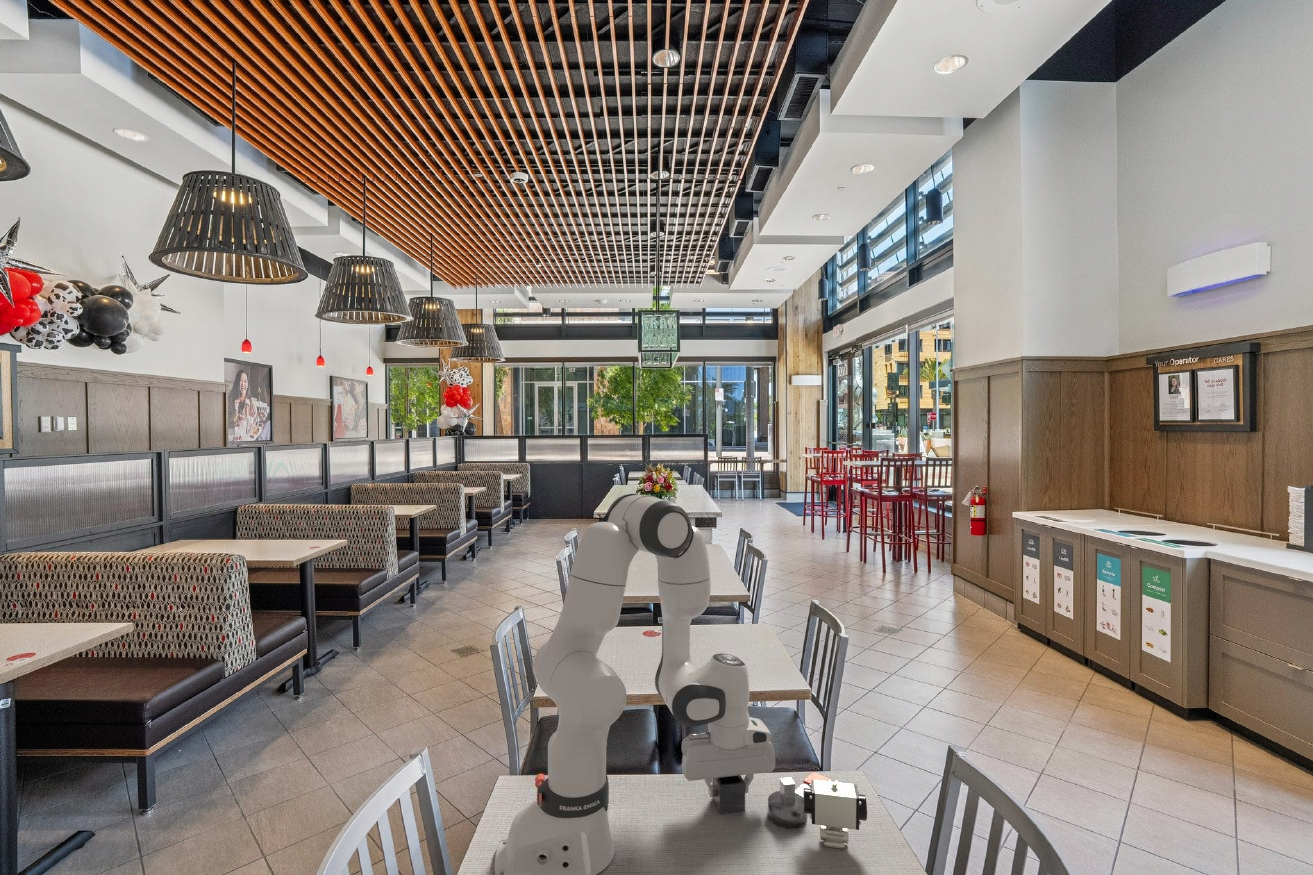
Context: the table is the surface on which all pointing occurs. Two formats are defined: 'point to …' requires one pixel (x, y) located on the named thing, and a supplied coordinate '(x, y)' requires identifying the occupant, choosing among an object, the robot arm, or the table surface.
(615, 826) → the table surface
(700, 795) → the table surface
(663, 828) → the table surface
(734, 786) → the open square container
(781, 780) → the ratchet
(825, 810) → the pneumatic valve
